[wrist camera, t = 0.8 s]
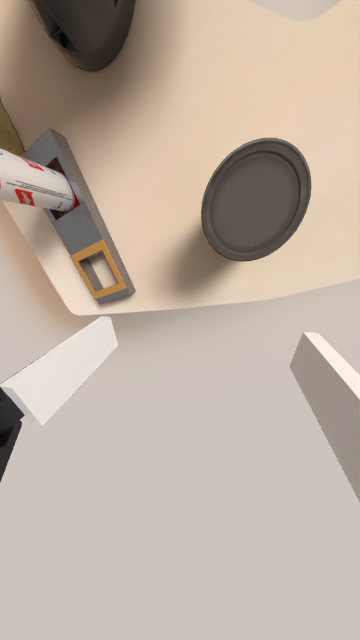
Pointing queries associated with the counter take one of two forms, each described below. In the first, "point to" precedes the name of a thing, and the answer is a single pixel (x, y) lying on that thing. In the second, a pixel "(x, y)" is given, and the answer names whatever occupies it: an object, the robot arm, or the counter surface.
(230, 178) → the coffee can
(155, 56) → the counter surface
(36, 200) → the beer can
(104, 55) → the robot arm
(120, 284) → the grey slotted tray
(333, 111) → the counter surface
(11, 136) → the rock
